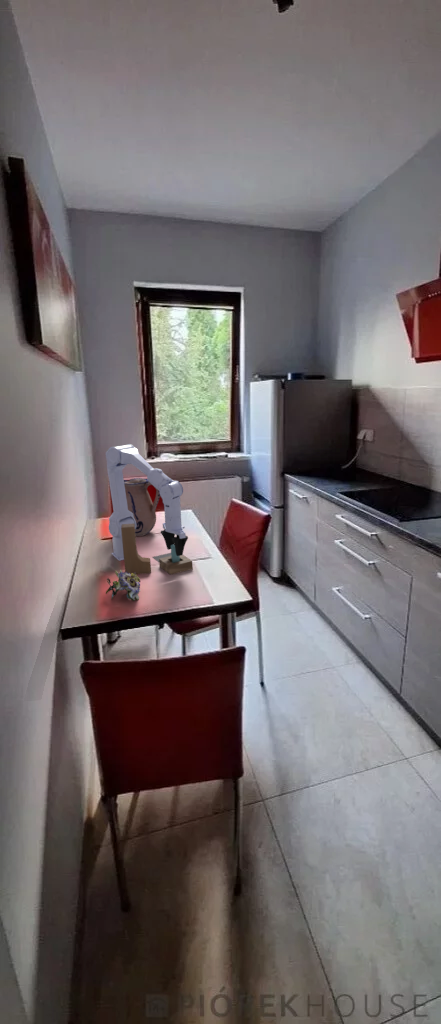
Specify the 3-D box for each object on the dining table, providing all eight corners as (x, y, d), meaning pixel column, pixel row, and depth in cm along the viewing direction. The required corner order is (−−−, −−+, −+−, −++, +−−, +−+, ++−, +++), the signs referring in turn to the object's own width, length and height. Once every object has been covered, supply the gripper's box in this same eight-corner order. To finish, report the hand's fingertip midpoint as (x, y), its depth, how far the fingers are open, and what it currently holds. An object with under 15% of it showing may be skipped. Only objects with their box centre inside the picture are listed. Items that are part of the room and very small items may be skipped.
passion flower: (137, 615, 134) (139, 596, 125) (102, 612, 132) (102, 593, 124) (141, 583, 142) (143, 564, 133) (107, 580, 140) (108, 560, 131)
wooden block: (150, 568, 156) (147, 522, 151) (151, 573, 152) (147, 525, 147) (125, 571, 154) (121, 524, 149) (125, 576, 150) (121, 527, 145)
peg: (170, 568, 156) (169, 545, 153) (178, 566, 157) (176, 543, 155) (174, 571, 153) (172, 547, 151) (181, 569, 155) (180, 545, 152)
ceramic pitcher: (126, 527, 205) (121, 476, 199) (168, 528, 202) (165, 476, 196) (112, 539, 189) (106, 484, 182) (158, 540, 186) (154, 484, 179)
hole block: (159, 567, 157) (159, 558, 156) (181, 562, 161) (181, 553, 160) (170, 575, 149) (169, 566, 148) (192, 569, 154) (192, 560, 153)
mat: (152, 558, 166) (152, 557, 166) (170, 553, 170) (170, 552, 170) (160, 564, 160) (160, 563, 159) (179, 559, 164) (179, 558, 163)
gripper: (192, 518, 146) (194, 555, 150) (174, 509, 158) (176, 544, 161) (174, 522, 142) (176, 560, 146) (156, 512, 154) (158, 547, 158)
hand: (174, 551), depth 154 cm, fingers open, 7 cm apart
